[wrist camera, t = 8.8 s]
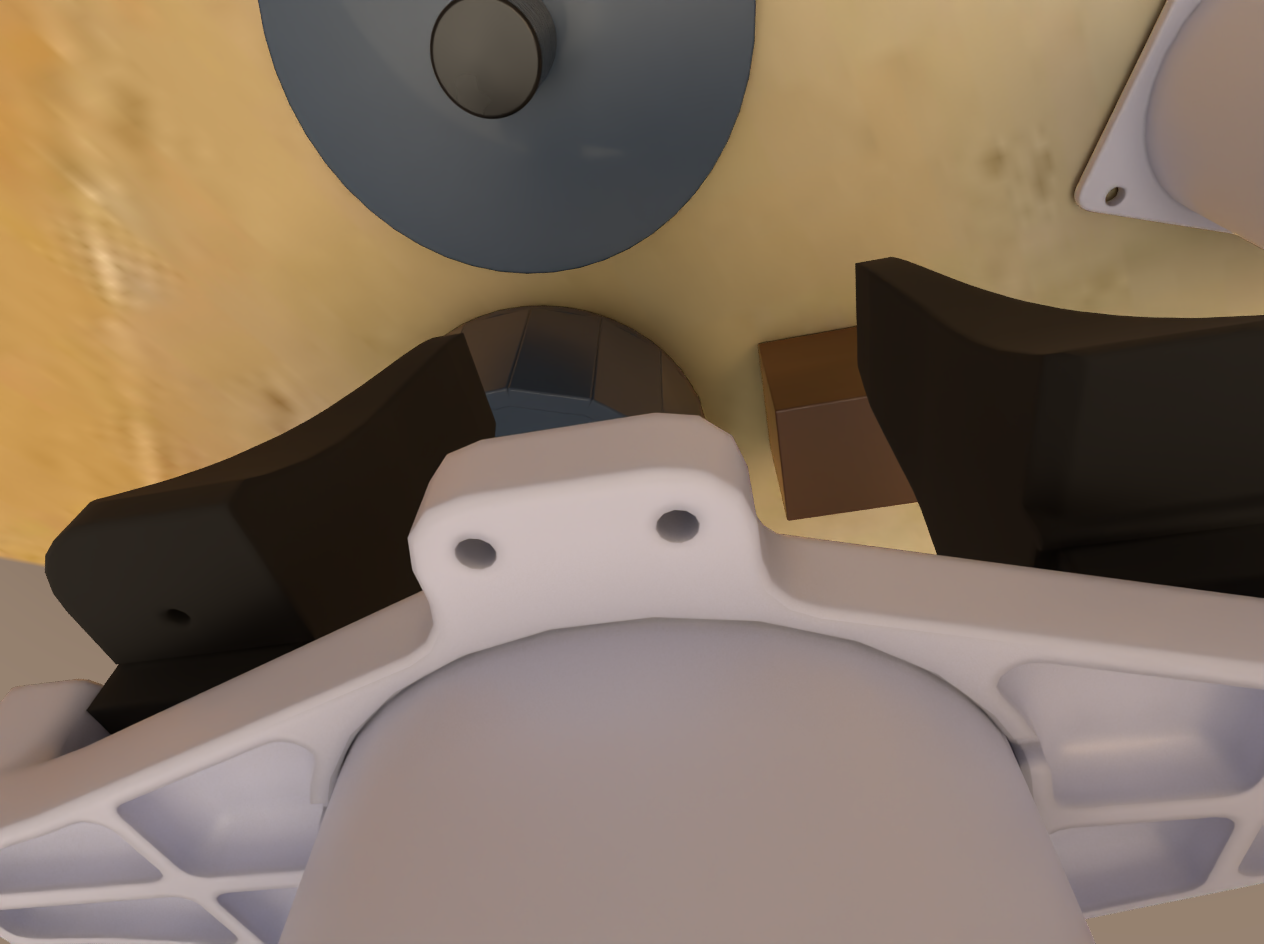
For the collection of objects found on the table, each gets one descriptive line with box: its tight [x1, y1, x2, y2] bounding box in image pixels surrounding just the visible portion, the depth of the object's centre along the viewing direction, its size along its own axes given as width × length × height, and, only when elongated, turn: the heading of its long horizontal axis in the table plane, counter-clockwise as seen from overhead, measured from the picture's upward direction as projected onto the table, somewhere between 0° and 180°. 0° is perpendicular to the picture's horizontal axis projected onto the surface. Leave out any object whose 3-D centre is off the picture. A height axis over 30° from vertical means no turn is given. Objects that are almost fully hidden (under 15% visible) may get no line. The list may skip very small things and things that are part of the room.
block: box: [758, 326, 918, 521], centre depth 24 cm, size 4×4×4 cm
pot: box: [445, 306, 705, 438], centre depth 25 cm, size 11×11×5 cm
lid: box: [258, 0, 756, 274], centre depth 18 cm, size 12×12×4 cm
